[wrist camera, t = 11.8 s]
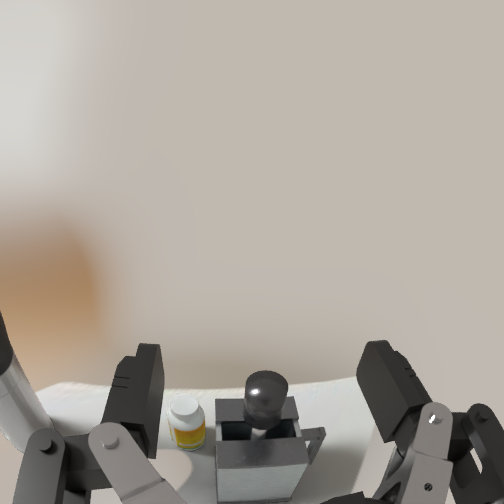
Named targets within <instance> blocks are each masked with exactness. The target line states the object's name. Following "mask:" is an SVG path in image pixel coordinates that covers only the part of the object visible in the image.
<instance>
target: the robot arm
mask: <svg viewBox="0 0 504 504" xmlns="http://www.w3.org/2000/svg"><path fill="white" fill-rule="evenodd" d="M356 376H357V381H358V384H359V386H360V388H361V391H362V393H363V395H364V397H365V400H366V402H367V404H368V406H369V409H370V411H371V413H372V416H373V418H374V420H375V423H376V425H377V427H378V429H379V432H380V434H381V437H382V439H383V441H384V443H387V442H391V441H395V443H396V446H395V447H394V449H393V452H392V455H391V458H390V460H389V463H388V466H387V469H386V471H385V474H384V477H383V479H382V482H381V484H380V486H379V488H378V489H377V491H376V492H375V494H374V496H373V497H372V498H365V497H364V494H363V491H361V492H357V493H353V494H349V495H344V496H340V497H335V498H332V499H330V500H328V501H325V502H323V503H321V504H445V501H446V497H447V492H448V488H449V487H450V489H451V492H452V494H453V497H454V500H455V503H456V504H504V430H503V428H502V426H501V425H500V423H499V421H498V419H497V418H496V416H495V414H494V413H493V411H492V410H491V409H490V408H489V407H488V406H486V405H484V404H479V403H478V404H474V405H473V406H471V408H470V409H469V410H468V411H467V413H462V412H457V413H456V412H451V411H450V410H449V409H448V408H447V407H446V406H445V405H443V404H441V403H436V402H433V401H432V400H431V398H430V396H429V395H428V393H427V391H426V390H425V388H424V387H423V385H422V383H421V381H420V380H419V378H418V377H416V373H415V372H414V370H413V369H412V367H411V365H410V364H409V362H408V361H407V359H406V358H405V357H404V356H403V355H401V354H400V353H399V352H398V351H394V350H393V349H392V347H391V346H390V344H389V342H388V341H386V340H379V341H369V342H368V343H367V344H366V346H365V349H364V352H363V354H362V357H361V360H360V362H359V365H358V367H357V374H356ZM163 392H164V369H163V362H162V356H161V349H160V345H159V344H143V343H140V344H139V346H138V349H137V353H136V357H133V356H125V357H124V358H123V360H122V361H121V362H120V363H119V364H118V366H117V369H116V372H115V375H114V379H113V382H112V387H111V389H110V392H109V396H108V399H107V403H106V407H105V410H104V414H103V418H102V421H101V423H100V425H98V426H96V427H95V428H94V429H93V430H92V431H91V432H90V433H88V434H85V435H79V436H69V437H62V436H61V434H60V433H59V432H57V431H56V430H55V429H54V425H53V423H52V421H51V419H50V418H49V416H48V415H47V413H46V411H45V410H44V408H43V406H42V404H41V403H40V401H39V399H38V398H37V396H36V394H35V392H34V390H33V389H32V387H31V385H30V383H29V381H28V379H27V377H26V376H25V373H24V372H23V369H22V367H21V365H20V363H19V361H18V359H17V357H16V355H15V353H14V351H13V348H12V346H11V344H10V341H9V338H8V335H7V332H6V327H5V324H4V321H3V317H2V315H1V312H0V431H1V432H2V434H3V435H4V436H5V437H6V439H7V440H9V441H11V443H12V444H13V445H14V446H15V447H16V448H17V449H18V450H19V451H21V452H22V453H24V456H23V460H22V464H21V467H20V472H19V476H18V480H17V484H16V489H15V493H14V498H13V504H90V499H91V490H95V489H105V488H114V490H115V491H116V493H117V494H118V496H119V498H120V500H121V502H122V503H123V504H187V503H186V502H185V501H184V500H183V499H182V498H181V497H180V495H179V494H178V493H177V492H176V491H175V490H174V488H173V487H172V486H171V485H170V484H169V483H168V482H167V481H166V480H165V479H163V478H162V477H161V476H160V475H159V474H158V472H157V471H156V470H155V468H154V467H153V466H152V464H151V463H150V462H149V460H148V458H151V459H156V451H157V442H158V432H159V424H160V415H161V407H162V400H163ZM473 448H474V449H475V451H476V453H477V455H478V457H479V459H480V461H481V463H482V472H481V474H480V472H479V470H478V468H477V465H476V463H475V461H474V459H473V457H472V455H471V453H470V451H471V450H472V449H473Z"/></svg>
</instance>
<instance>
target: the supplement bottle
mask: <svg viewBox="0 0 504 504" xmlns="http://www.w3.org/2000/svg"><path fill="white" fill-rule="evenodd" d="M167 420H168V425H169V429H170V434H171V438H172V441H173V443H174V444H175V445H176V446H177V447H178V448H180V449H183V450H188V451H192V450H196V449H198V448H200V447H201V446H202V445H203V444H204V442H205V438H206V433H205V415H204V411H203V409H202V408H201V406H200V405H199V401H198V399H197V398H196V397H195V396H194V395H192V394H189V393H180V394H177V395H175V396H174V397H173V398H172V399H171V401H170V407H169V409H168V411H167Z"/></svg>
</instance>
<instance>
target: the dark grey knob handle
mask: <svg viewBox="0 0 504 504" xmlns="http://www.w3.org/2000/svg"><path fill="white" fill-rule="evenodd" d="M287 392H288V383H287V381H286V379H285V378H284V377H283V376H281V375H280V374H278V373H276V372H273V371H258V372H255V373H253V374H252V375H250V376H249V377H248V379H247V381H246V387H245V397H244V407H243V418H244V421H245V422H246V423H247V424H248V425H249V426H250V427H252V434H251V440H265V436H266V431H267V430H268V429H272V428H274V427H275V426H277V425H278V423H279V422H280V420H281V416H282V412H283V408H284V404H285V400H286V396H287Z"/></svg>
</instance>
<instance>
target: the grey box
mask: <svg viewBox="0 0 504 504" xmlns="http://www.w3.org/2000/svg"><path fill="white" fill-rule="evenodd" d="M243 407H244V399H215V416H216V446H215V468H216V491H217V504H265V503H277V502H286V501H290V500H291V495H292V493H293V491H294V489H295V488H296V486H297V484H298V482H299V480H300V478H301V476H302V475H303V473H304V471H305V469H306V467H307V465H310V464H312V462H313V460H314V458H315V456H316V454H317V452H318V450H319V448H320V446H321V444H322V442H323V440H324V438H325V436H326V432H325V429H324V427H319V428H311V429H301V430H300V427H299V422H298V419H299V416H298V412H297V408H296V404H295V400H294V396H292V397H286V400H285V404H284V408H283V412H282V416H281V420H280V422H279V423H278V425H277V426H275V427H274V428H272V429H268V430H267V431H266V436H265V440H251V434H252V427H250V426H249V425H248V424H247V423H246V422H245V421H244V418H243ZM310 440H311V441H310ZM305 441H310V443H309V446H308V448H306V444H305Z"/></svg>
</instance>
